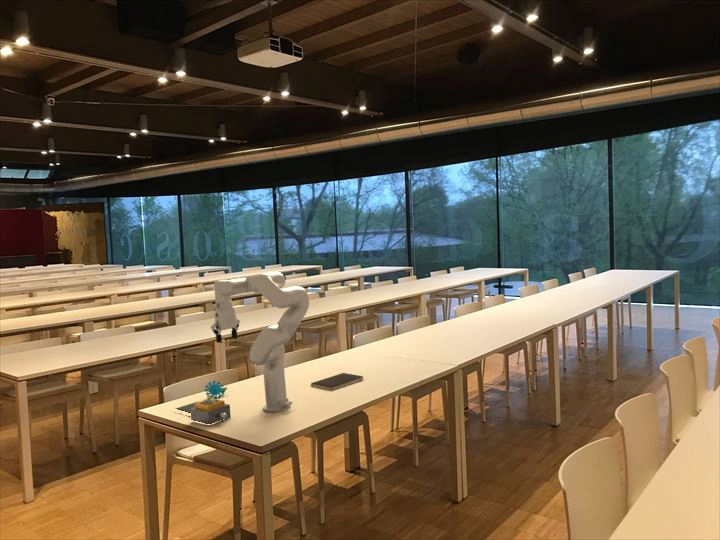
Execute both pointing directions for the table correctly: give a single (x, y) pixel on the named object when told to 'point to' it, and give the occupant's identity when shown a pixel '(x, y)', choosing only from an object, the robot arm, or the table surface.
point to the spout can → (209, 400)
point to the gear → (215, 389)
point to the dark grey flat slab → (187, 407)
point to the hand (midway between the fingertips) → (227, 340)
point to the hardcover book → (337, 381)
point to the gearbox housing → (210, 412)
